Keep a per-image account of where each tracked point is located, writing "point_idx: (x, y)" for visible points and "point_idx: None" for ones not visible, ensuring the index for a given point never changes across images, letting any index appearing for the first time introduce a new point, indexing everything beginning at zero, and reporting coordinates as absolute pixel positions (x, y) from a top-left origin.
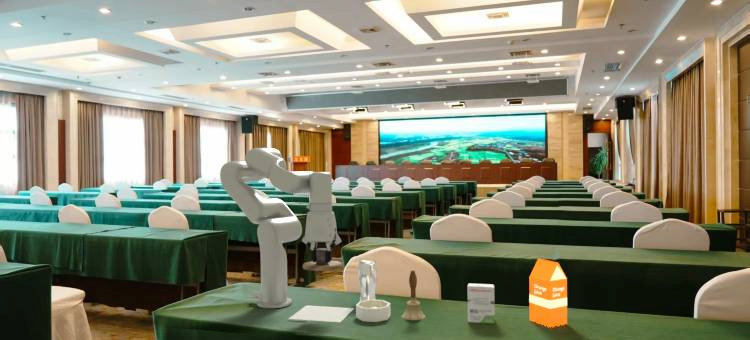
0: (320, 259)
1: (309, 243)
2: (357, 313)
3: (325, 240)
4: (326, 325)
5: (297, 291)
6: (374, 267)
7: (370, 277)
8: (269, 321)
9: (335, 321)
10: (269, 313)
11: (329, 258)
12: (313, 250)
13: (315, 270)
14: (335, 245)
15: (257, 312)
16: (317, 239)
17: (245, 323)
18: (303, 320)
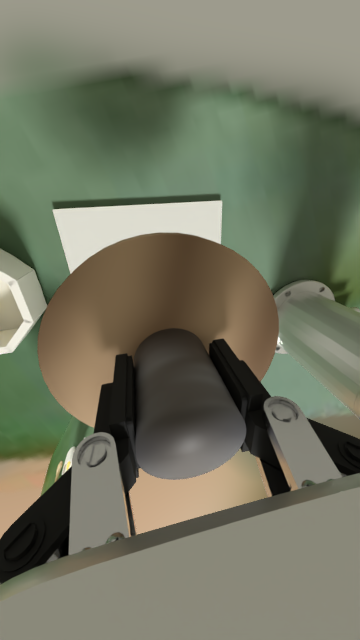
0: (169, 350)
1: (350, 463)
2: (16, 266)
3: (85, 600)
4: (89, 184)
5: None
6: (39, 497)
7: (57, 452)
8: (268, 176)
9: (71, 212)
10: (287, 248)
11: (109, 386)
12: (260, 403)
13: (156, 233)
14: (8, 538)
15: (317, 246)
16: (283, 565)
17: (328, 136)
18: (175, 203)
